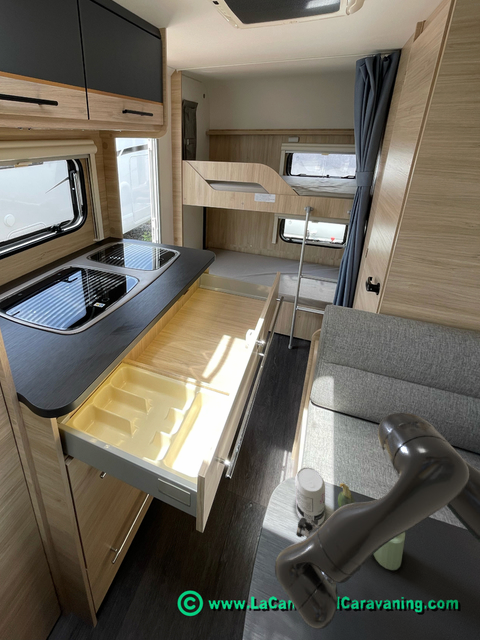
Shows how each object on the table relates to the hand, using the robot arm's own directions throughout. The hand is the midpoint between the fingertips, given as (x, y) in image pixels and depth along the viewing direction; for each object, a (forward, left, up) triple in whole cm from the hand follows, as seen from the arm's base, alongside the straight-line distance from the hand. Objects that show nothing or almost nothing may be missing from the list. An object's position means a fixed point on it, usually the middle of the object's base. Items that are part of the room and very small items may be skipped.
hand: (333, 533), depth 82 cm
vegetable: (0, -9, -13) cm, 16 cm away
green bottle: (-10, -10, -13) cm, 20 cm away
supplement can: (+10, -8, -13) cm, 18 cm away
